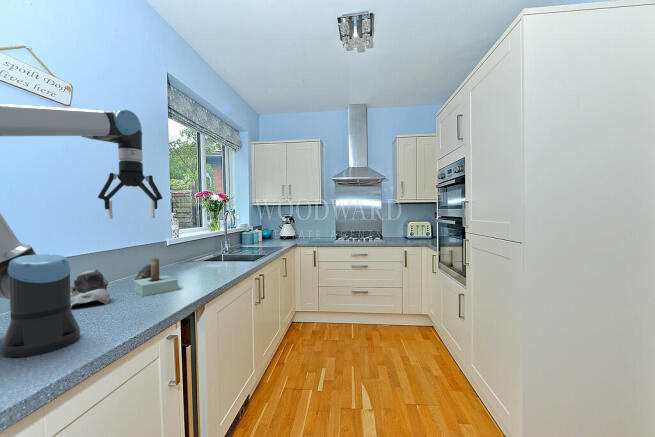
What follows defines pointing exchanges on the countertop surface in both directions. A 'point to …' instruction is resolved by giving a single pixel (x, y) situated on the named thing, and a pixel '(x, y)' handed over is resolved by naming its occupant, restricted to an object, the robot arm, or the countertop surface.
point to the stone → (89, 288)
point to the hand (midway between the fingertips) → (132, 218)
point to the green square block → (155, 285)
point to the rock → (144, 273)
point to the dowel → (155, 270)
